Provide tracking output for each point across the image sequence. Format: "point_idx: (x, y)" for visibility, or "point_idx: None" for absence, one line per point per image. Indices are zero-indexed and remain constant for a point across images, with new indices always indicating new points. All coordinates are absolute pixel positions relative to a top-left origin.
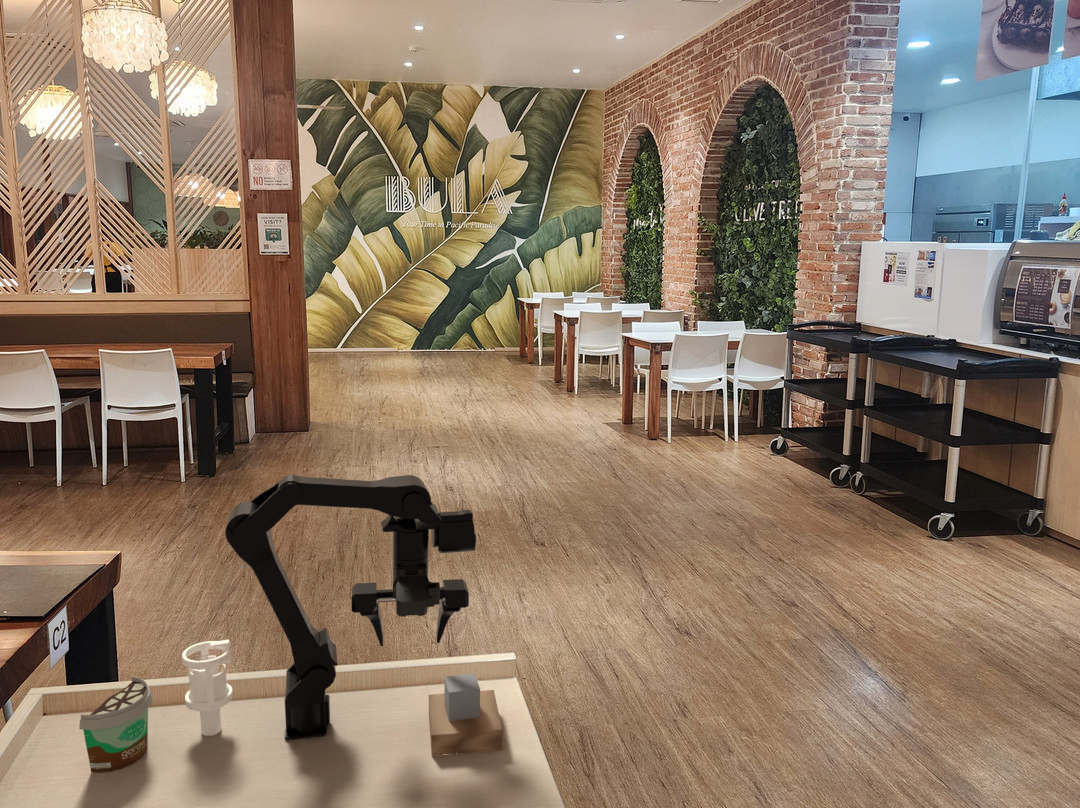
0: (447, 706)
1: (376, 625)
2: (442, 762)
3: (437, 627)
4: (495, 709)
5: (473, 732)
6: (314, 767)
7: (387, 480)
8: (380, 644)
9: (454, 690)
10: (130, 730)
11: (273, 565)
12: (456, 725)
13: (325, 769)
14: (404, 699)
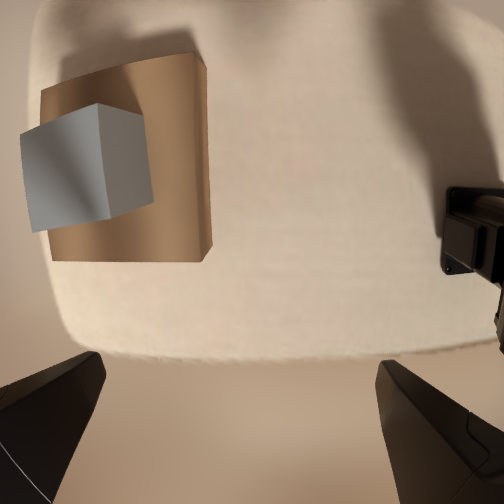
0: (133, 141)
1: (478, 435)
2: (183, 47)
3: (71, 417)
4: None
5: (93, 73)
6: (454, 80)
7: None
8: (397, 363)
9: (80, 118)
10: None
11: None
12: (126, 96)
13: (434, 67)
14: (272, 315)
